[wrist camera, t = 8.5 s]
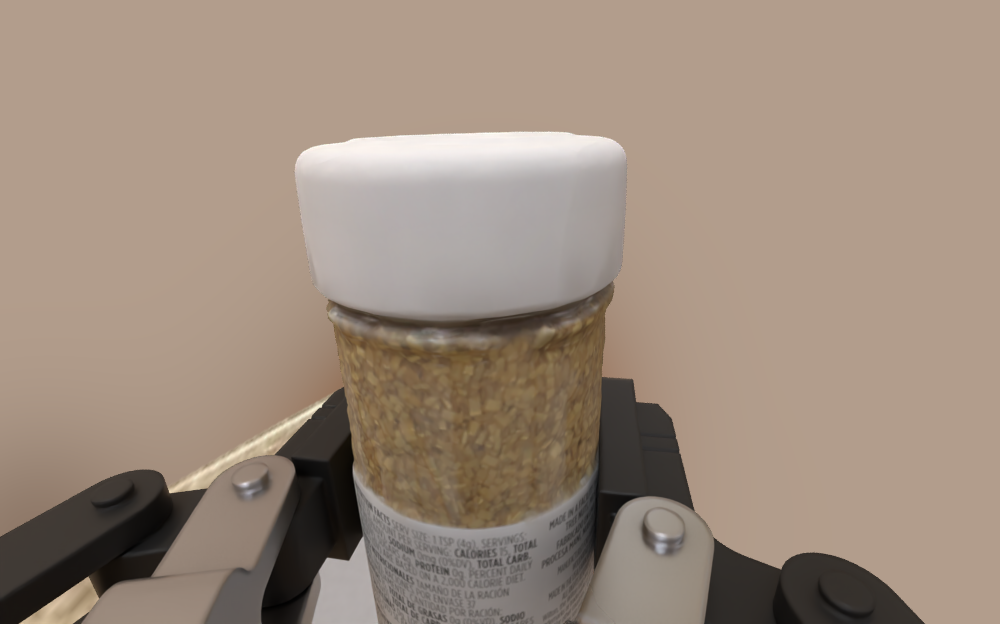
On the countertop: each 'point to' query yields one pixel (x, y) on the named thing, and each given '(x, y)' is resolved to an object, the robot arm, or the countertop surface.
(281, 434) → the countertop surface
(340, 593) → the kitchen scale
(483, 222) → the sprinkles bottle
